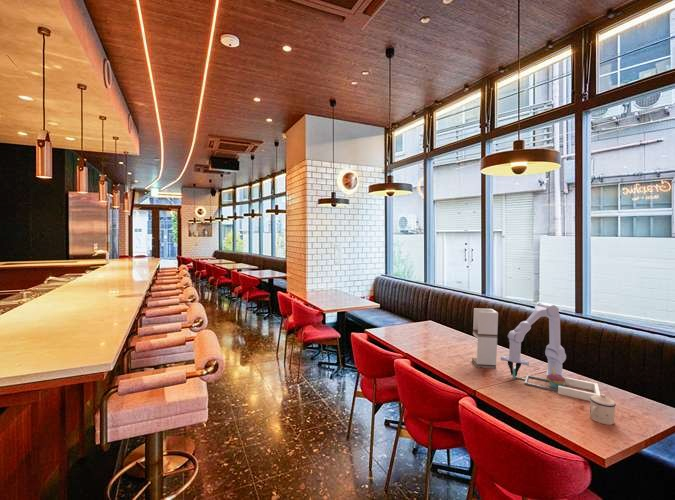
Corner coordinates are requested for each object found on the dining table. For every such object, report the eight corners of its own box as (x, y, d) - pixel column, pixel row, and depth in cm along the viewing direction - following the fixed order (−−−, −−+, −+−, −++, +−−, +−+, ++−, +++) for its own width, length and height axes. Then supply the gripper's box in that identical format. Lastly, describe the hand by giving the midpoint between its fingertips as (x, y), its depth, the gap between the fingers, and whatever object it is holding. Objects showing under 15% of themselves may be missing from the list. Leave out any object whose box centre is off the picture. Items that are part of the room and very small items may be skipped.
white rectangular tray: (558, 382, 191) (558, 375, 191) (597, 390, 182) (597, 383, 181) (557, 394, 177) (558, 386, 177) (600, 403, 168) (600, 395, 167)
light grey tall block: (490, 362, 221) (492, 308, 220) (496, 368, 211) (498, 312, 209) (472, 361, 222) (473, 308, 221) (477, 367, 212) (479, 311, 210)
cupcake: (553, 390, 181) (554, 368, 180) (542, 383, 189) (543, 362, 189) (568, 390, 181) (569, 368, 181) (557, 383, 190) (558, 362, 189)
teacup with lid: (597, 412, 159) (598, 388, 158) (619, 423, 150) (620, 397, 150) (580, 417, 154) (581, 392, 153) (602, 428, 146) (604, 402, 145)
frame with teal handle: (514, 373, 202) (514, 363, 202) (564, 384, 188) (565, 374, 188) (511, 381, 191) (512, 371, 191) (564, 393, 177) (565, 382, 177)
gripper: (500, 351, 196) (499, 374, 197) (528, 356, 188) (527, 380, 189) (501, 347, 202) (501, 370, 203) (529, 352, 194) (528, 376, 195)
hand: (514, 375), depth 196 cm, fingers closed
